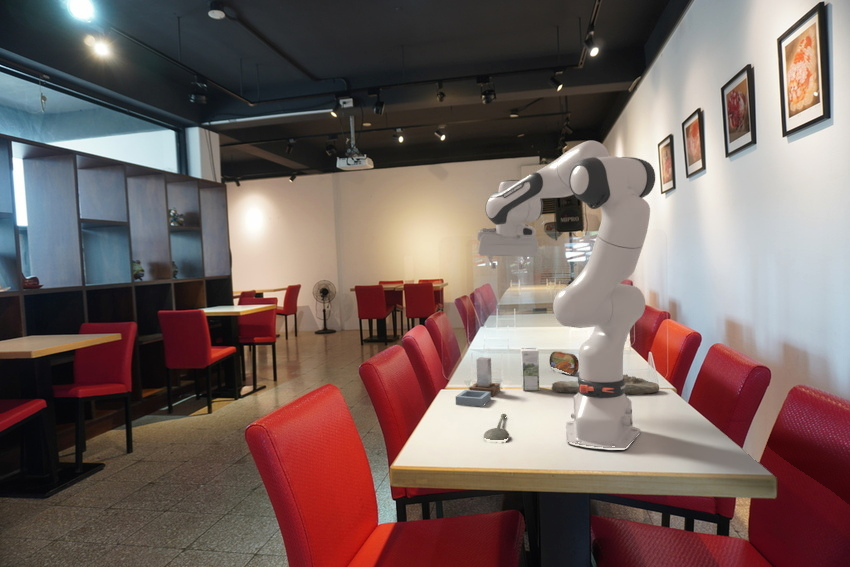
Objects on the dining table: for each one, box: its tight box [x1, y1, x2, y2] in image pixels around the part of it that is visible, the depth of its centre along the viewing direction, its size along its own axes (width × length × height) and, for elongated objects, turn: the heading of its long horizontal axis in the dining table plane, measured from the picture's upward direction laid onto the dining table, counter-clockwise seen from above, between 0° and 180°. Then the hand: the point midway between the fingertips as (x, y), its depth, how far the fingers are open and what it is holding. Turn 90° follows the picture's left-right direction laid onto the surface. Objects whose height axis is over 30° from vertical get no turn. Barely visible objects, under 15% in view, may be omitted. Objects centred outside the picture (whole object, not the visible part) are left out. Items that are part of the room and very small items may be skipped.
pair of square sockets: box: [455, 381, 501, 407], centre depth 176 cm, size 21×9×2 cm, turn 155°
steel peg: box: [476, 356, 493, 388], centre depth 182 cm, size 4×4×12 cm
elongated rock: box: [551, 374, 660, 395], centre depth 178 cm, size 35×5×10 cm
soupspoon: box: [483, 413, 510, 440], centre depth 143 cm, size 22×3×7 cm
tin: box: [549, 351, 579, 376], centre depth 207 cm, size 15×3×8 cm, turn 25°
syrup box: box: [520, 347, 540, 392], centre depth 184 cm, size 6×6×14 cm
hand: (507, 268), depth 179 cm, fingers open, 8 cm apart
